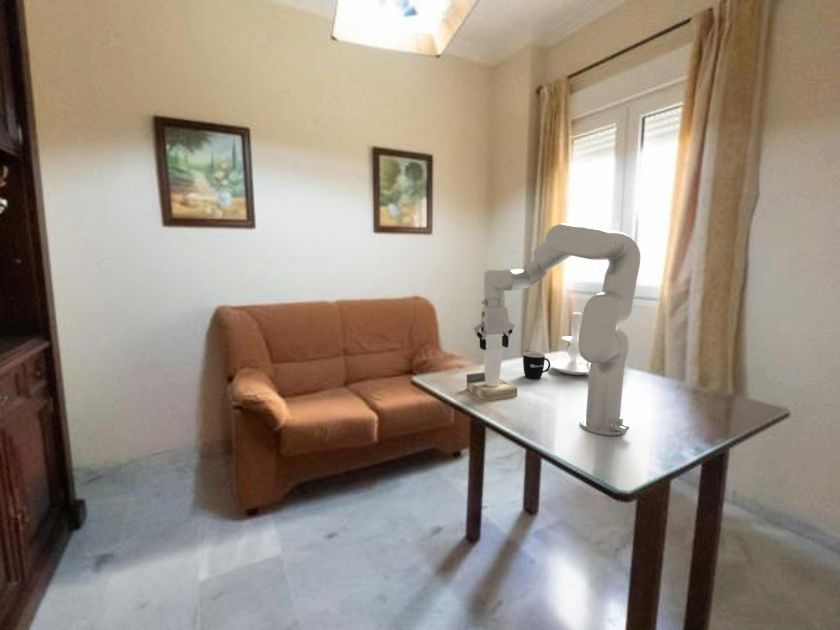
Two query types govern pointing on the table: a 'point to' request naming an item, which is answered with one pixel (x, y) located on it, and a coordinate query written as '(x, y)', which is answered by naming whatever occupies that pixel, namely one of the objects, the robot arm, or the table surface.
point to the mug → (534, 364)
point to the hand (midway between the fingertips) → (494, 348)
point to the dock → (489, 388)
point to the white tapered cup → (492, 364)
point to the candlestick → (572, 352)
